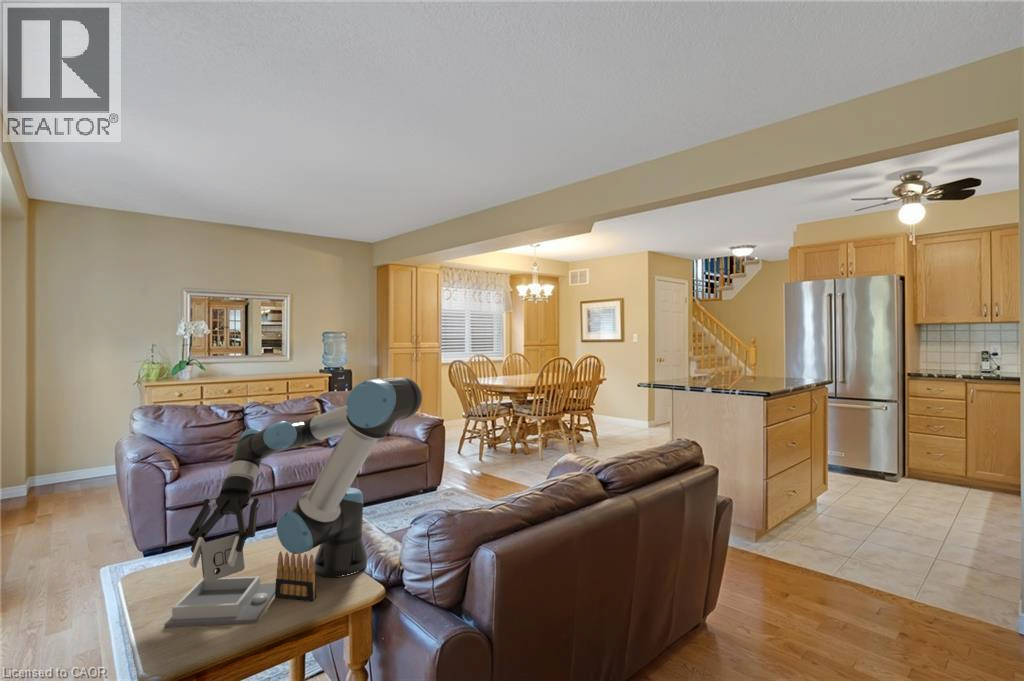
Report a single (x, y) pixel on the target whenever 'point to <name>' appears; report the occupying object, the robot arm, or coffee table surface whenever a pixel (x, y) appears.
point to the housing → (223, 602)
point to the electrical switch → (219, 558)
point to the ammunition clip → (295, 578)
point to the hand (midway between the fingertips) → (211, 564)
